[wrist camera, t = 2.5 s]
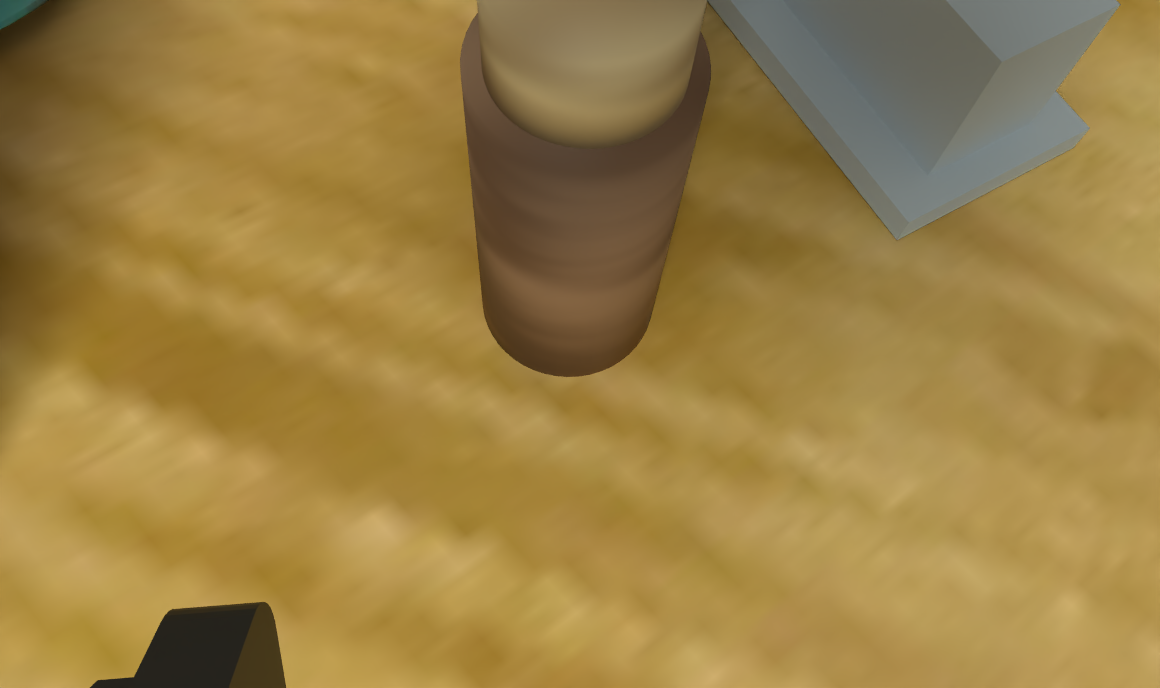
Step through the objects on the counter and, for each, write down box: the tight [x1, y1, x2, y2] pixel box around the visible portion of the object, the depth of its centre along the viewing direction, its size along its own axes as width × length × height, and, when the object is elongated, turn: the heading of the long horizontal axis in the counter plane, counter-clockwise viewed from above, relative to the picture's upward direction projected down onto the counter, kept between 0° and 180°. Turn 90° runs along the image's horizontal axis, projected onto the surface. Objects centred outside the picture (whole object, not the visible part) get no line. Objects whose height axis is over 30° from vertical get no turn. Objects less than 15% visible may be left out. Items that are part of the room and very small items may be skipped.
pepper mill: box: [460, 0, 711, 377], centre depth 22 cm, size 5×5×12 cm
